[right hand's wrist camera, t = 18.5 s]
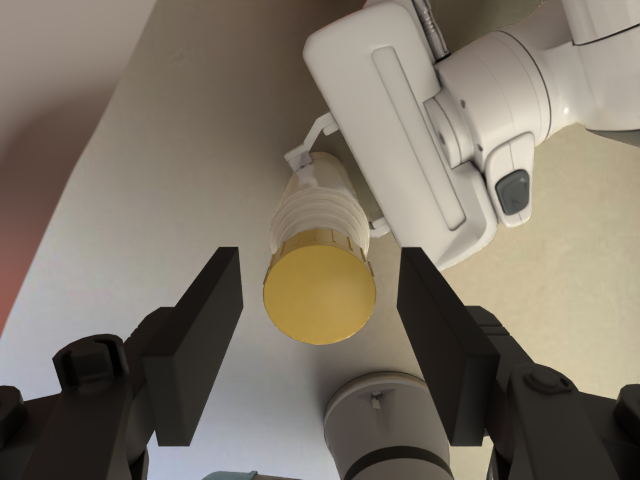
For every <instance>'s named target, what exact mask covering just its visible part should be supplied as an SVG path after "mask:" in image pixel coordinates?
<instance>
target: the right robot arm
mask: <svg viewBox="0 0 640 480" xmlns="http://www.w3.org/2000/svg"><path fill="white" fill-rule="evenodd" d="M242 310H243V297H242V285H241V273H240V262H239V250H238V247H219V248H218V249H217V250H216V252H215V253H214V254H213V256H212V257H211V258H210V260H209V261H208V263H207V264H206V265H205V267H204V268H203V269H202V271H201V272H200V273H199V275H198V276H197V277H196V279H195V280H194V281H193V283H192V284H191V285H190V287H189V288H188V290H187V291H186V292H185V294H184V295H183V296H182V298H181V299H180V300H179V302H178V303H177V304H176V306H175V307H160V308H158V309H157V310H155V311H153V312H152V313H150V314H149V315H147V316H146V317H145V318H144V320H143V321H142V322H141V323H140V324H139V325H138V328H136V329H135V330H134V331H133V333H132V334H131V337H128V339H127V340H126V341H125V342H124V343H123V341H122V339H121V338H120V337H118V336H117V335H112V334H98V335H92V336H89V337H85V338H82V339H79V340H77V341H75V342H72V343H70V344H68V345H67V346H65V347H64V348H62V349H61V350H59V351H58V352H57V354H56V355H55V356H54V357H53V358H52V360H53V363H54V366H55V369H56V373H57V376H58V379H59V382H60V385H61V388H62V391H61V393H59V394H55V395H51V396H46V397H42V398H37V399H33V400H28V401H23V398H22V395H21V393H20V390H18V389H17V388H16V387H14V386H4V385H3V386H0V480H147V473H148V465H149V456H148V450H147V446H146V445H147V444H148V442H149V440H150V438H151V436H152V434H153V432H154V430H155V432H156V437H157V441H158V446H190V443H191V441H192V438H193V435H194V433H195V430H196V428H197V425H198V423H199V420H200V417H201V415H202V412H203V410H204V407H205V405H206V402H207V399H208V397H209V394H210V392H211V389H212V387H213V384H214V381H215V379H216V376H217V374H218V371H219V369H220V366H221V364H222V361H223V358H224V356H225V353H226V351H227V348H228V346H229V343H230V340H231V338H232V335H233V333H234V330H235V328H236V325H237V322H238V320H239V317H240V315H241V312H242ZM397 310H398V312H399V315H400V317H401V320H402V322H403V325H404V328H405V330H406V333H407V335H408V338H409V340H410V343H411V346H412V348H413V351H414V353H415V356H416V358H417V361H418V364H419V366H420V369H421V371H422V374H423V376H424V379H425V381H426V383H425V382H424V381H422V380H420V379H418V378H416V377H414V376H411V375H408V374H404V373H398V372H378V373H372V374H368V375H364V376H361V377H359V378H356V379H354V380H352V381H350V382H349V383H347V384H346V385H344V386H343V387H342V388H340V389H339V390H338V391H337V392H336V393H335V394H334V396H333V397H332V398H331V400H330V402H329V403H328V405H327V408H326V411H325V417H324V435H325V441H326V444H327V447H328V449H329V451H330V453H331V455H332V457H333V458H334V461H335V464H336V467H337V470H338V473H339V476H340V479H341V480H454V478H453V475H452V472H451V469H450V458H449V445H448V441H449V443H450V446H482V441H483V437H484V436H490V438H491V440H492V442H493V444H494V446H493V450H492V455H491V459H490V463H489V468H488V472H487V478H486V480H492V477H493V480H640V384H630V385H626V386H624V387H623V388H621V390H620V393H619V395H618V398H617V400H615V399H610V398H606V397H601V396H596V395H592V394H587V393H583V392H580V391H579V390H578V389H577V387H576V386H575V385H574V383H573V382H572V381H571V380H570V379H568V378H567V377H566V376H564V375H563V374H562V373H560V372H558V371H556V370H554V369H552V368H550V367H547V366H543V365H540V364H536V363H534V362H533V360H532V359H531V358H530V357H529V356H528V355H527V353H526V352H525V351H524V350H523V349H522V347H521V346H520V345H519V344H518V343H517V342H516V340H515V339H514V338H513V337H512V336H510V333H509V332H508V331H507V330H506V329H505V327H502V324H501V323H500V322H499V320H498V319H497V318H496V317H495V316H494V315H493V314H492V313H490V312H489V311H487V310H485V309H484V308H482V307H481V306H464V304H463V303H462V302H461V300H460V299H459V298H458V296H457V295H456V294H455V292H454V291H453V290H452V288H451V287H450V285H449V284H448V283H447V281H446V280H445V279H444V277H443V276H442V275H441V273H440V272H439V271H438V269H437V268H436V267H435V265H434V264H433V263H432V261H431V260H430V258H429V257H428V256H427V254H426V253H425V252H424V250H423V249H422V248H421V247H402V250H401V262H400V273H399V285H398V297H397ZM485 428H486V429H485ZM202 480H300V479H292V478H284V477H275V476H267V475H259V474H258V472H257V471H252V472H250V473H240V472H224V471H218V472H214V473H211V474H209V475H207V476H206V477H205V478H203V479H202Z"/></svg>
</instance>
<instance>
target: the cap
mask: <svg viewBox="0 0 640 480" xmlns="http://www.w3.org/2000/svg"><path fill="white" fill-rule="evenodd" d="M373 277H374V274H373V271H372V268H371V265H370V262H369V261H367V258H366V256H365V254H364V252H363V248H362V247H361V248H360V247H359V246H358V245H357V244H356V243H355V242H354V241H353V240H352V239H351V238H350V236H348V237H347V236H345V235H343V234H342V233H339V232H336V231H334V230H333V229H332V230H327V229H317V228H314V229H312V230H307V231H303V232H297V234H296V235H294V236H292V237H290V238H289V239H288V240H286V241H283V243H282V245H281V246H280V247H279V248H278V250H277V251H276V253H275V254H274V253H273V255H272V258H271V261H270V265H269V268H268V270H267V274H266V277H265V280H264V283H263V284H264V289H263V299H264V305H265V309H266V311H267V313H268V315H269V317H270V319H271V320H272V322H273V323H274V324H275V326H276V327H277V328H278V329H279V330H281V331H282V332H283V333H284V334H286V335H288V336H289V337H291V338H293V339H295V340H298V341H301V342H304V343H309V344H330V343H335V342H339V341H341V340H344V339H346V338H348V337H350V336H352V335H353V334H355V333H356V332H357V331H358V330H360V329H361V328H362V327H363V326H364V325H365V323H366V322H367V321H368V319H369V318H370V316H371V314H372V312H373V309H374V306H375V300H376V288H375V283H374V280H373Z"/></svg>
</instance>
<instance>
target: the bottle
mask: <svg viewBox="0 0 640 480" xmlns="http://www.w3.org/2000/svg"><path fill="white" fill-rule="evenodd" d="M311 155H312V157H313V162H312V163H310V164H308V165H306V166H301V168H300V169H299V170H297V171H295V172H293V173H292V175H291V178H290V180H289V182H288V184H287V187H286V189H285V191H284V193H283V196H282V198H281V200H280V202H279V205H278V207H277V209H276V212H275V214H274V216H273V219H272V222H271V226H270V247H271V251H272V255H273V253H274V254H275V253H276V251H277V250H278V248H279V247H280V246H281V245H282V243H283V241H286V240H288V239H289V238H290V237H292V236H294V235H296V234H297V232H303V231H307V230H312V229H314V228H317V229H327V230H332V229H333V230H334V231H336V232H339V233H342V234H343V235H345V236H347V237H348V236H350V238H351V239H352V240H353V241H354V242H355V243H356V244H357V245H358V246H359V247H360V248H361V247H362V248H363V252H364V254H365V256H367V253H368V249H369V240H370V230H369V224H368V220H367V218H366V215H365V213H364V211H363V209H362V206H361V204H360V202H359V199H358V197H357V195H356V192H355V190H354V188H353V186H352V183H351V181H350V179H349V176H348V174H347V172H346V169H345V167H344V165H343V164H342V162H341V161H340V160H339V159H338V158H337V157H335V156H334V155H332V154H330V153H327V152H313V153H311Z"/></svg>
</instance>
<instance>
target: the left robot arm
mask: <svg viewBox="0 0 640 480" xmlns="http://www.w3.org/2000/svg"><path fill="white" fill-rule="evenodd" d="M303 59H304V61H305V63H306V65H307V67H308V69H309V71H310V73H311V75H312V77H313V79H314V81H315V83H316V85H317V87H318V89H319V91H320V93H321V94H322V96H323V98H324V100H325V102H326V104H327V106H328V108H329V110H330V111H329V112H327V113H325V114H324V115H322V116H320V117H319V118H317V119H316V121H315V122H314V124H313V126H312V128H311V129H310V131H309V133H308V135H307V136H306V138H305V140H304V142H303V144H301V145H299V146H298V147H296V148H294V149H292V150H291V151H289V152H287V153H286V154H285V155H284V157H285V159H286V161H287V162H288V164H289V166H290V167H291V169H292V171H293V172H295V171H297V170H299V169H300V168H301V166H306V165H308V164H310V163H312V162H313V157H312V155H311V153H310V152H309V150H310V148H311V147H312V145H313V143H314V141H315V140H316V138H317V136H318V135H319V133H320V131H321V129H323V132H324V134H325V135H329V134H331V133H333V132H334V131H336V130H338V129H339V130H340V132H341V134H342V136H343V138H344V139H345V141H346V143H347V145H348V147H349V149H350V151H351V153H352V155H353V157H354V159H355V161H356V163H357V165H358V167H359V169H360V171H361V173H362V175H363V177H364V179H365V181H366V183H367V185H368V186H369V188H370V190H371V192H372V194H373V196H374V198H375V200H376V202H377V204H378V206H379V208H380V210H378V211H377V212H375V213H373V214H371V215H369V218H370V221H371V222H368V224H369V230H370V237H381V236H383V235H385V234H387V233H389V232H392V233H393V235H394V237H395V239H396V241H397V243H398V245H399V247H400V249H401V250H402V247H421V248H422V249H423V250H424V252H425V253H426V254H427V256H428V257H429V258H430V260H431V261H432V263H433V264H434V265H435V267H436V268H437V269H438V271H439V272H441V271H443V270H445V269H447V268H449V267H451V266H453V265H455V264H457V263H458V262H460V261H462V260H464V259H466V258H467V257H469V256H471V255H472V254H474V253H476V252H477V251H479V250H480V249H482V248H483V247H484V246H486V245H487V244H488V243H489V242H490V241H491V240H492V238H493V237H494V235H495V233H496V231H497V226H498V223H499V224H501V225H503V226H505V227H509V228H511V227H515V226H518V225H520V224H522V223H524V222H526V221H527V220H528V219H529V218H530V216H531V213H532V176H533V161H534V153H535V147H536V146H538V145H540V144H541V143H543V142H544V141H545V140H546V139H548V138H549V137H550V136H551V135H553V134H554V133H555V132H557V131H558V130H560V129H561V128H563V127H565V126H568V125H571V124H575V123H581V124H583V125H585V126H586V130H587V131H590V132H592V133H594V134H597V135H600V136H603V137H606V138H609V139H613V140H616V141H620V142H623V143H627V144H630V145H634V146H637V147H640V0H545V1H544V2H543V3H541V4H540V5H539V6H538V7H537V8H536V9H535V10H534V11H533V12H532V13H531V14H530V15H529V16H527V17H526V18H525V19H523V20H521V21H519V22H517V23H514V24H511V25H506V26H503V27H499V28H497V29H494V30H492V31H490V32H489V33H487V34H485V35H483V36H482V37H480V38H478V39H477V40H475V41H473V42H471V43H470V44H468V45H466V46H464V47H463V48H461V49H459V50H458V51H456V52H454V53H451V54H450V52H449V49H448V47H447V45H446V42H445V39H444V37H443V34H442V32H441V30H440V29H439V26H438V25H437V22H436V21H435V18H434V15H433V13H432V6H431V3H430V0H365V2H364V3H363V5H362V8H361V10H359V11H356V12H354V13H352V14H349V15H347V16H345V17H343V18H340V19H338V20H336V21H334V22H332V23H330V24H328V25H327V26H325V27H323V28H321V29H319V30H318V31H316V32H314V33H313V34H311V35H310V36H309V37H308V38H307V40H306V43H305V46H304V50H303ZM436 61H437V62H436ZM434 62H436V64H433V65H432V63H434Z"/></svg>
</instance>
